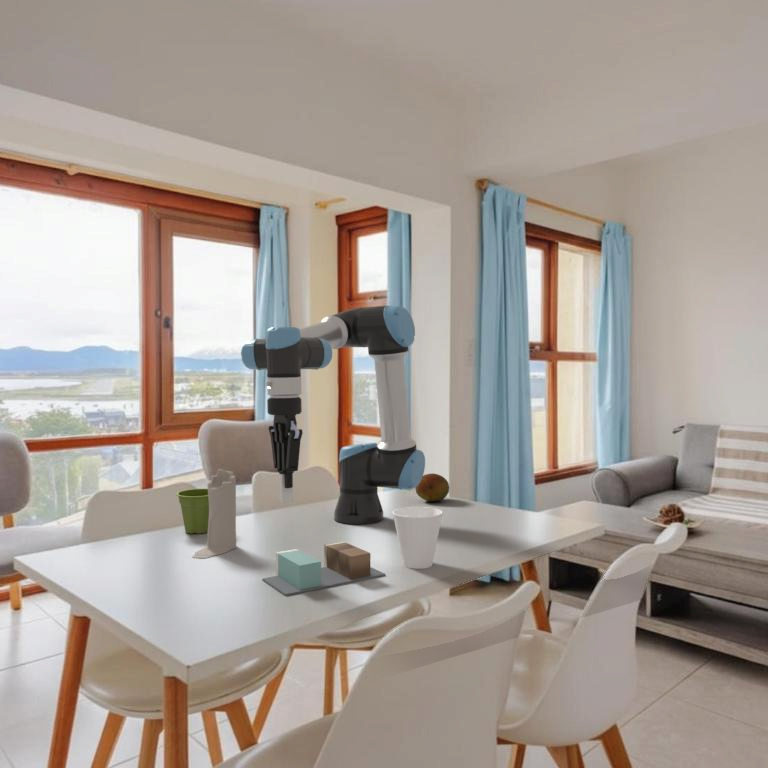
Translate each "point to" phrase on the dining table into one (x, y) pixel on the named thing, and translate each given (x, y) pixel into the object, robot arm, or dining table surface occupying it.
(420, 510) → the cup
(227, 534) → the grey boot
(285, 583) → the slate mat
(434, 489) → the fruit
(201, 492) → the plant pot
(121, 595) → the dining table surface
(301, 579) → the teal pillar
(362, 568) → the walnut pillar
